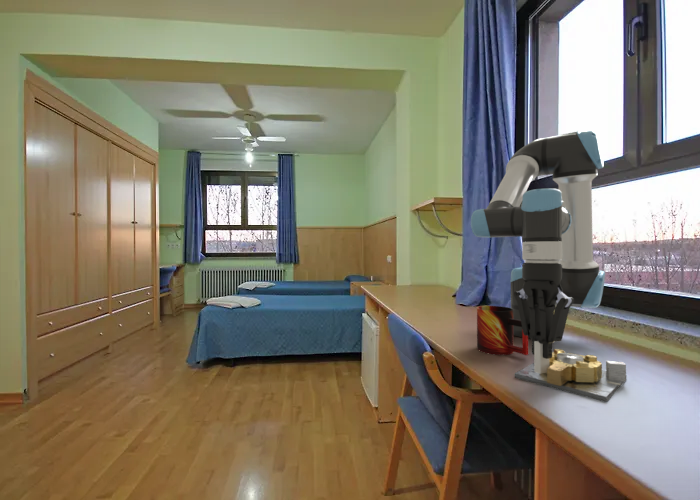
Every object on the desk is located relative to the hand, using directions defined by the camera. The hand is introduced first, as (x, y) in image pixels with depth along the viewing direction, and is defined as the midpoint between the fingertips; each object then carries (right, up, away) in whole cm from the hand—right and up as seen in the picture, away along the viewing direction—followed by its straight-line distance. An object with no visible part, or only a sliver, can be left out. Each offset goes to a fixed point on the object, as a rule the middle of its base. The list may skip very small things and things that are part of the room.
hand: (541, 371), depth 75 cm
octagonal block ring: (+6, -1, +1) cm, 6 cm away
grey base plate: (+8, -3, +3) cm, 9 cm away
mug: (+2, -3, +24) cm, 25 cm away
